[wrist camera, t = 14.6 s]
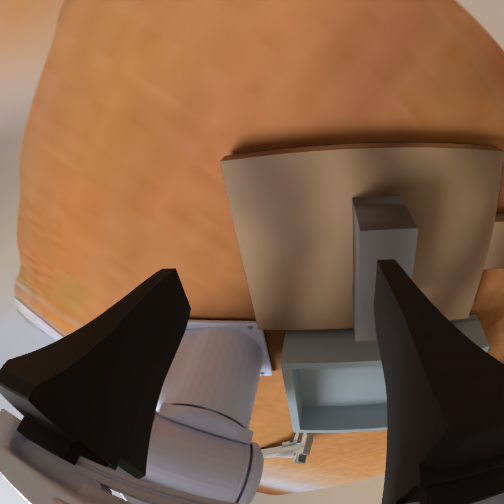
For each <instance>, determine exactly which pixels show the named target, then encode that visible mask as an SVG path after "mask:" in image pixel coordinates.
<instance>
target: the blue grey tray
mask: <svg viewBox="0 0 504 504" xmlns="http://www.w3.org/2000/svg"><path fill="white" fill-rule="evenodd" d="M449 321H450V322H451V323H452V324H453V325H454V326H455V327H456V328H458V329H459V330H460V331H461V332H462V333H463V334H464V335H465V336H467V337H468V338H469V339H470V340H471V341H473V342H474V343H475V344H476V345H478V346H479V347H480V348H482V349H483V350H484V351H485V352H487V351H488V349H489V347H490V345H489V343H488V340H487V338H486V335H485V333H484V330H483V328H482V326H481V323H480V321H479V319H478V316H477V314H473V315H469V316H468V318H465V319H457V320H449ZM281 367H282V373H283V378H284V384H285V389H286V395H287V400H288V406H289V411H290V417H291V422H292V428H293V432H295V433H342V432H364V431H378V430H387V394H386V385H385V379H384V373H383V367H382V362H381V356H380V351H379V346H378V340H375V341H358V342H355V330H354V328H341V329H307V330H285V337H284V344H283V351H282V358H281Z"/></svg>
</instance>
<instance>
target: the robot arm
mask: <svg viewBox="0 0 504 504" xmlns="http://www.w3.org/2000/svg"><path fill="white" fill-rule="evenodd" d="M373 307H374V318H375V329H376V335H377V340H378V346H379V351H380V356H381V362H382V367H383V373H384V379H385V385H386V394H387V456H386V471H385V483H384V491H383V498H382V504H504V364H503V363H501V362H500V361H498V360H497V359H495V358H494V357H492V356H491V355H489V354H488V353H487V352H485V351H484V350H483V349H482V348H480V347H479V346H478V345H476V344H475V343H474V342H473V341H471V340H470V339H469V338H468V337H467V336H465V335H464V334H463V333H462V332H461V331H460V330H459V329H458V328H456V327H455V326H454V325H453V324H452V323H451V322H450V321H449V320H448V319H447V318H446V317H445V316H444V315H443V314H442V313H441V312H440V311H439V310H438V309H437V308H436V307H435V306H434V305H433V304H432V303H431V301H430V300H429V299H428V298H427V297H426V296H425V295H424V293H423V292H422V291H421V290H420V289H419V288H418V287H417V285H416V284H415V283H414V282H413V281H412V279H411V278H410V277H409V276H408V275H407V273H406V272H405V271H404V270H403V268H402V267H401V266H400V265H399V264H398V262H397V261H396V260H395V259H388V260H377V269H376V283H375V294H374V305H373ZM190 312H191V307H190V305H189V302H188V300H187V297H186V294H185V292H184V289H183V287H182V284H181V281H180V279H179V276H178V273H177V271H176V268H175V269H161V270H159V271H158V272H156V273H155V274H153V275H152V276H151V277H149V278H148V279H147V280H145V281H144V282H143V283H142V284H140V285H139V286H138V287H136V288H135V289H134V290H133V291H131V292H130V293H129V294H128V295H126V296H125V297H124V298H122V299H121V300H120V301H119V302H117V303H116V304H115V305H113V306H112V307H110V308H109V309H108V310H106V311H105V312H104V313H102V314H101V315H100V316H98V317H97V318H95V319H94V320H92V321H91V322H89V323H88V324H86V325H85V326H83V327H81V328H80V329H78V330H76V331H75V332H73V333H71V334H69V335H67V336H65V337H64V338H62V339H60V340H58V341H56V342H54V343H52V344H50V345H48V346H45V347H43V348H41V349H38V350H36V351H33V352H31V353H28V354H25V355H22V356H19V357H16V358H13V359H9V360H8V361H7V362H6V363H5V364H4V365H3V367H2V368H1V369H0V393H1V394H2V395H3V396H4V397H5V399H7V400H8V401H9V402H10V403H11V404H12V405H13V406H14V407H15V408H16V409H17V410H18V411H19V412H20V413H21V414H22V415H24V417H23V419H22V421H21V420H19V419H18V418H17V417H15V416H14V415H12V414H11V413H9V412H8V411H6V410H5V409H1V411H0V473H1V475H3V477H4V478H5V479H6V480H7V481H8V482H9V483H10V484H11V485H12V486H13V488H14V489H15V490H16V491H17V492H18V493H19V494H20V495H22V497H23V498H24V499H25V500H26V501H27V502H28V503H29V504H249V503H250V502H251V501H252V499H253V498H254V496H255V493H256V491H257V489H258V486H259V483H260V480H261V476H262V471H263V462H264V458H263V453H262V451H261V449H260V447H259V445H258V444H257V443H255V442H251V441H252V436H253V431H252V430H248V429H249V424H250V420H251V415H252V410H253V406H254V401H255V396H256V392H257V387H258V382H259V377H260V376H270V375H272V372H273V371H272V366H271V362H270V357H269V353H268V348H267V344H266V339H265V335H264V330H258V326H257V322H256V321H219V320H189V316H190ZM251 326H252V327H251ZM109 488H110V489H112V490H114V491H117V492H119V493H120V494H121V495H122V497H123V498H124V499H125V500H123V499H121V498H119V497H117V496H114V495H112V492H111V490H110V489H109Z"/></svg>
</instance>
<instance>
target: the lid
mask: <svg viewBox="0 0 504 504" xmlns="http://www.w3.org/2000/svg"><path fill="white" fill-rule="evenodd" d="M503 156H504V151H502V150H501V149H499V148H497V147H496V146H487V145H472V144H453V143H361V144H340V145H324V146H310V147H298V148H287V149H277V150H268V151H259V152H251V153H243V154H236V155H228V156H225V157H224V158H223V159H222V160H221V161H220V164H221V169H222V173H223V178H224V182H225V187H226V191H227V196H228V200H229V205H230V209H231V213H232V218H233V222H234V227H235V231H236V235H237V240H238V244H239V249H240V253H241V257H242V262H243V266H244V270H245V275H246V279H247V283H248V288H249V292H250V296H251V300H252V305H253V309H254V313H255V317H256V322H257V326H258V330H307V329H341V328H354V330H355V342H358V341H375V340H377V335H376V329H375V318H374V307H373V305H374V294H375V283H376V269H377V260H388V259H395V260H396V261H397V262H398V264H399V265H400V266H401V267H402V268H403V270H404V271H405V272H406V273H407V275H408V276H409V277H410V278H411V279H412V281H413V282H414V283H415V284H416V285H417V287H418V288H419V289H420V290H421V291H422V292H423V293H424V295H425V296H426V297H427V298H428V299H429V300H430V301H431V303H432V304H433V305H434V306H435V307H436V308H437V309H438V310H439V311H440V312H441V313H442V314H443V315H444V316H445V317H446V318H447V319H448V320H457V319H465V318H468V316H469V314H470V311H471V308H472V305H473V302H474V299H475V296H476V293H477V290H478V286H479V283H480V280H481V276H482V273H483V270H488V269H499V268H504V214H496V211H497V205H498V199H499V192H500V185H501V176H502V167H503Z"/></svg>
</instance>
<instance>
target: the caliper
mask: <svg viewBox="0 0 504 504" xmlns="http://www.w3.org/2000/svg"><path fill="white" fill-rule="evenodd" d="M312 442H313V433H296V435H295V437H294V440H293V441H289V440H287V441H283V442H282V445H281V446H278V447H272V448H267V449H261V451H262V453H263V458H271V457H281V458H294V461H293V462H294V463H299V464H300V463H305V460H306V456H307V455H309V453H310V449H311V445H312Z"/></svg>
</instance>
